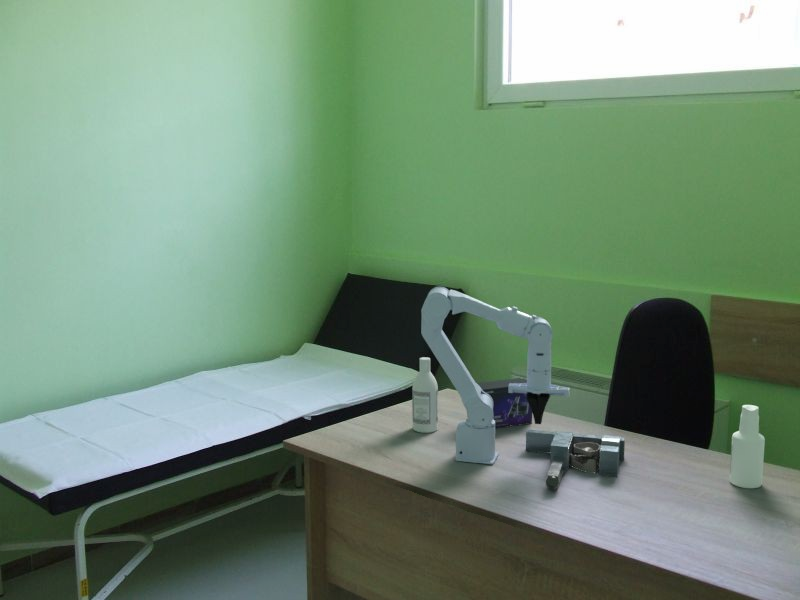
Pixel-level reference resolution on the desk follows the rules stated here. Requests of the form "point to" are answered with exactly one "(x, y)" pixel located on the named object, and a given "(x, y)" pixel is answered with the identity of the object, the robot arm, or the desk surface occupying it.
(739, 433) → the spray bottle
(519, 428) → the desk surface
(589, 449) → the dental mold
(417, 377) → the bath foam
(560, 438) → the sliding jaw
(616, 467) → the vise bed
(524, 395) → the box
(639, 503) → the desk surface
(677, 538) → the desk surface
